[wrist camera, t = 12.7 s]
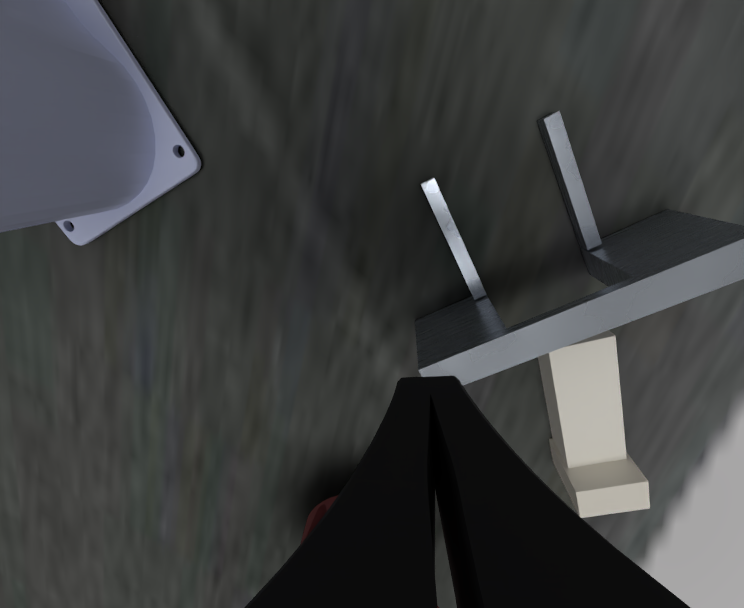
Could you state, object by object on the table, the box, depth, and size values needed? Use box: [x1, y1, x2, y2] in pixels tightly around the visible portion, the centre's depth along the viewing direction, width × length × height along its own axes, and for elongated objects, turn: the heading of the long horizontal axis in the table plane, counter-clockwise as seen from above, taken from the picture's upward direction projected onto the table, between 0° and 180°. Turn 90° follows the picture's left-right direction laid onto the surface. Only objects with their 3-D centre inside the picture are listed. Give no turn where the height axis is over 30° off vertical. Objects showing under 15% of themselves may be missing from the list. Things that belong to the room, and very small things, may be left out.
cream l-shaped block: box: [538, 330, 650, 518], centre depth 18 cm, size 10×3×4 cm, turn 18°
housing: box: [415, 111, 744, 385], centre depth 14 cm, size 7×12×5 cm, turn 118°
